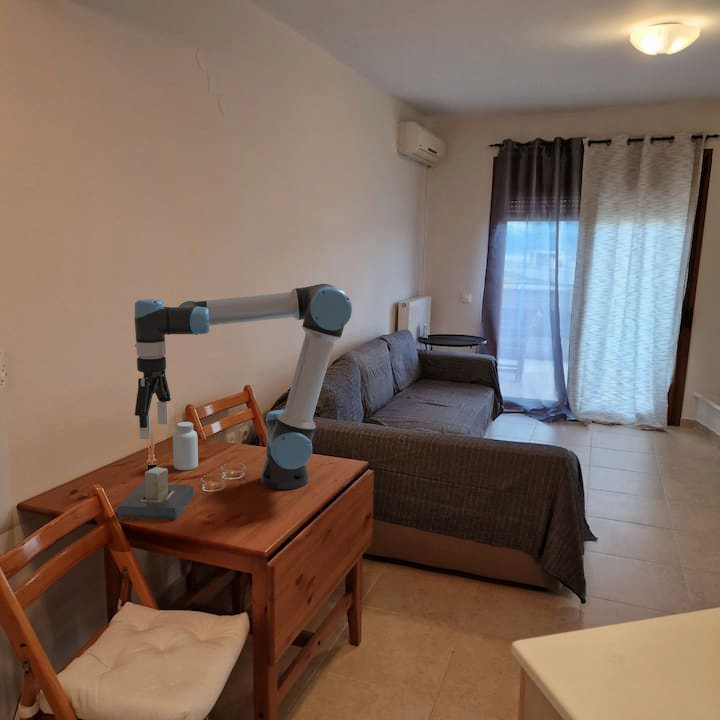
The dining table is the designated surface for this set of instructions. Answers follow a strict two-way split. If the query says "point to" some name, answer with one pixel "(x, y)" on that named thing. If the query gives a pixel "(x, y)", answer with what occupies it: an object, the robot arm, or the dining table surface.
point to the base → (156, 503)
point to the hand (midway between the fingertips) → (154, 431)
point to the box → (156, 484)
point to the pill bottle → (185, 447)
